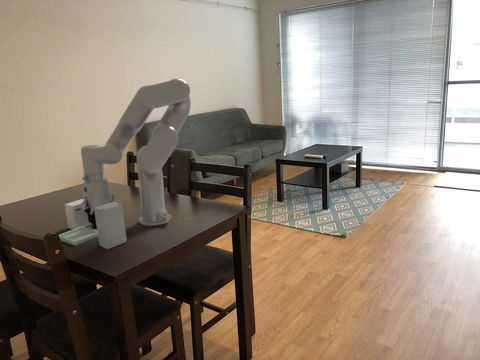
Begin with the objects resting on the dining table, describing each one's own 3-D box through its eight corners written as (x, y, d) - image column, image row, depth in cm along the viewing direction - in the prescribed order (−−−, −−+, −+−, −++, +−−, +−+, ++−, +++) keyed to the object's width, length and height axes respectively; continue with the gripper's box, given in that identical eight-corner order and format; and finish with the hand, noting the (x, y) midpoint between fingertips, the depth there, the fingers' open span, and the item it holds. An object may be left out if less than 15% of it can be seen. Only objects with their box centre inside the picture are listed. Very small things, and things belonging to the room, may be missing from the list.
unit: (93, 223, 167) (90, 200, 165) (76, 230, 161) (72, 206, 158) (84, 221, 170) (81, 198, 168) (67, 227, 164) (64, 204, 161)
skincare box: (118, 238, 151) (114, 200, 147) (127, 242, 147) (123, 203, 143) (98, 245, 145) (93, 206, 141) (106, 250, 141) (101, 209, 137)
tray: (102, 235, 155) (101, 231, 155) (75, 245, 146) (75, 242, 145) (83, 229, 161) (82, 226, 161) (56, 239, 152) (56, 236, 151)
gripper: (81, 183, 149) (87, 228, 153) (118, 173, 163) (123, 215, 167) (69, 181, 153) (75, 225, 157) (106, 171, 167) (111, 212, 171)
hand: (99, 219), depth 162 cm, fingers closed on supplement bottle, 6 cm apart
